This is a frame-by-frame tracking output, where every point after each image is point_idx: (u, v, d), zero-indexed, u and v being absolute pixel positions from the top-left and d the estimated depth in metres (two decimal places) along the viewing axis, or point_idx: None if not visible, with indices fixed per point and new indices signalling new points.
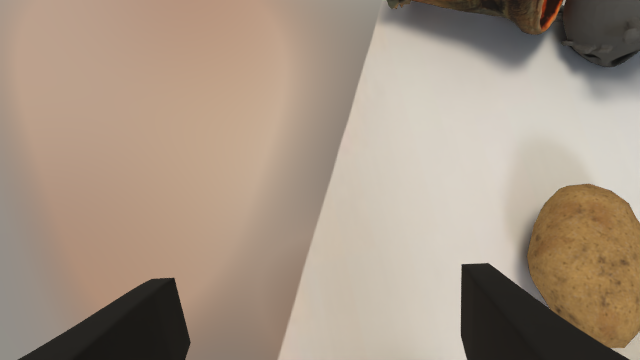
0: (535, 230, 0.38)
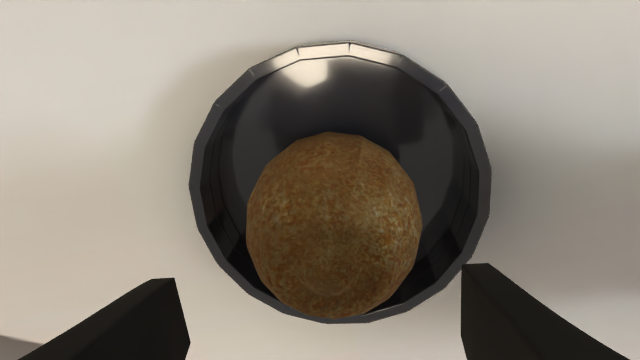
0: None
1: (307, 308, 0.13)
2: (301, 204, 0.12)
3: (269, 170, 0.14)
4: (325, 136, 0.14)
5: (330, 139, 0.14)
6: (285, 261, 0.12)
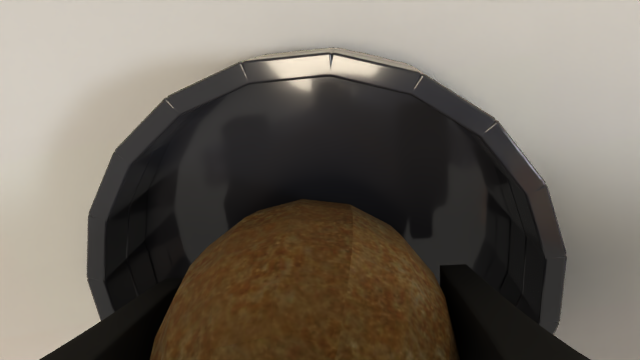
0: None
1: None
2: None
3: (187, 288, 0.08)
4: (289, 221, 0.08)
5: (297, 229, 0.08)
6: None
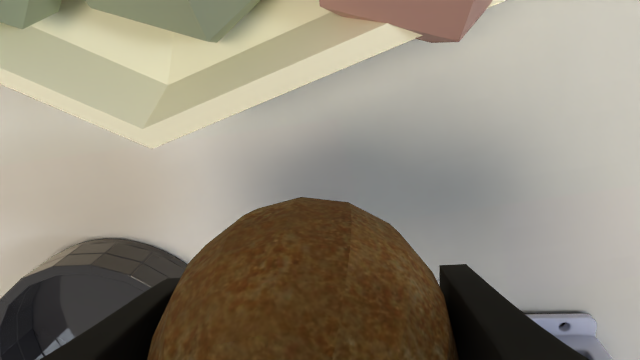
0: None
1: None
2: None
3: (185, 286, 0.08)
4: (287, 218, 0.08)
5: (295, 228, 0.08)
6: None
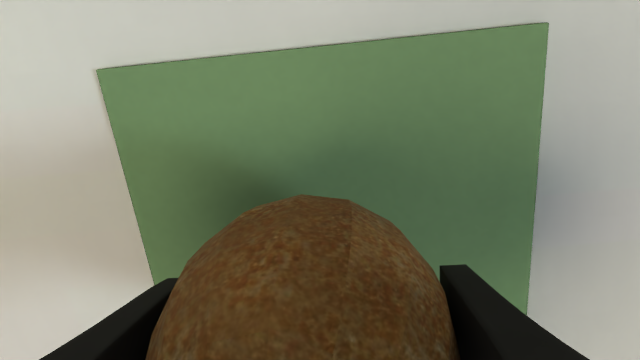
0: None
1: None
2: None
3: (184, 283, 0.07)
4: (287, 215, 0.08)
5: (295, 224, 0.08)
6: None
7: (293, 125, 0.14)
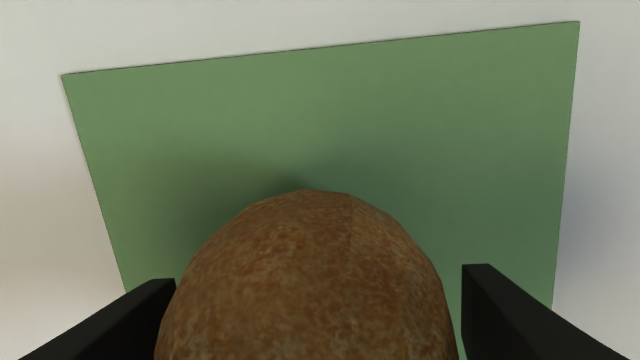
0: None
1: None
2: None
3: (192, 271, 0.08)
4: (291, 207, 0.08)
5: (298, 216, 0.08)
6: None
7: (285, 138, 0.12)
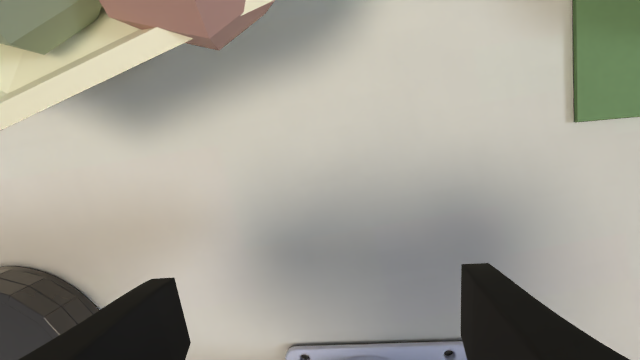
0: None
1: None
2: None
3: None
4: None
5: None
6: None
7: None
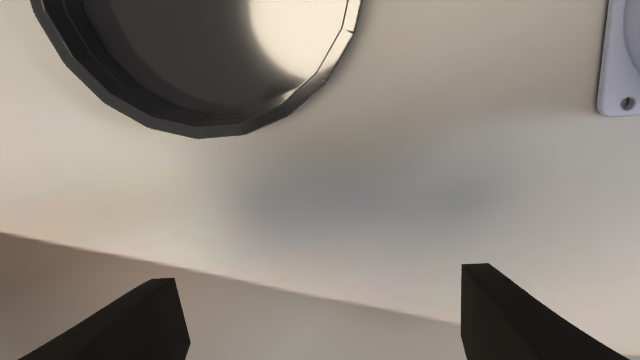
0: None
1: None
2: None
3: None
4: None
5: None
6: None
7: None
